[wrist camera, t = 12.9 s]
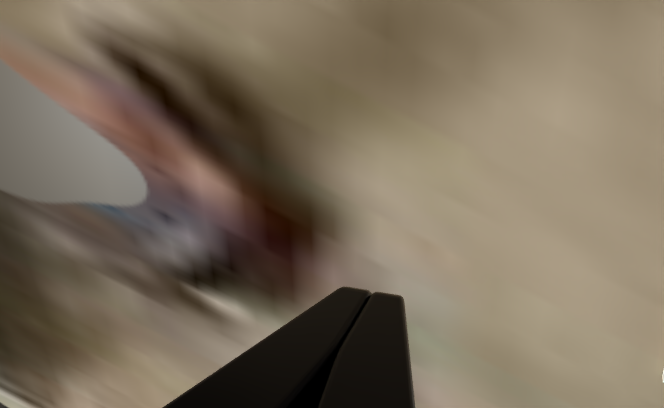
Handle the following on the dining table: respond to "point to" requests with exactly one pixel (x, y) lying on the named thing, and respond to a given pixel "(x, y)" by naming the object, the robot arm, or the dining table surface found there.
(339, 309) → the robot arm
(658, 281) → the dining table surface
